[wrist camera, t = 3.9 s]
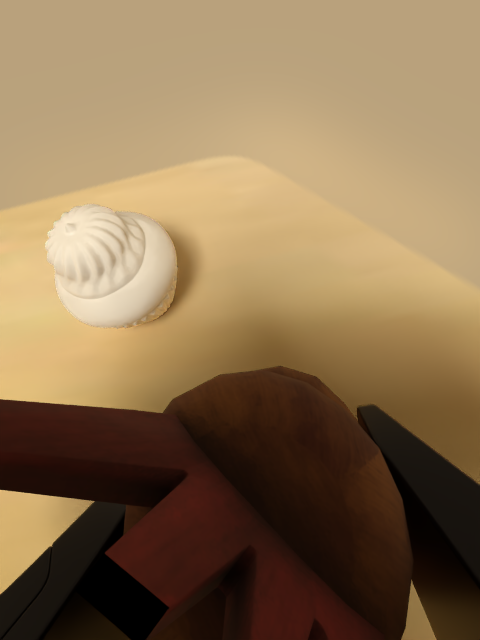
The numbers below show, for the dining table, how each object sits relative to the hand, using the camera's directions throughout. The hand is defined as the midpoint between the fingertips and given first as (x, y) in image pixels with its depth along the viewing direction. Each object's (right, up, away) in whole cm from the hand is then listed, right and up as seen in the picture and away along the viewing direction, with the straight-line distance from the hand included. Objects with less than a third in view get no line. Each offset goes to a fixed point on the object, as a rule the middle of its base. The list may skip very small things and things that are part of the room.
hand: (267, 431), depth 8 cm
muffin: (-6, +4, +11) cm, 13 cm away
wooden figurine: (+2, -4, +6) cm, 7 cm away
